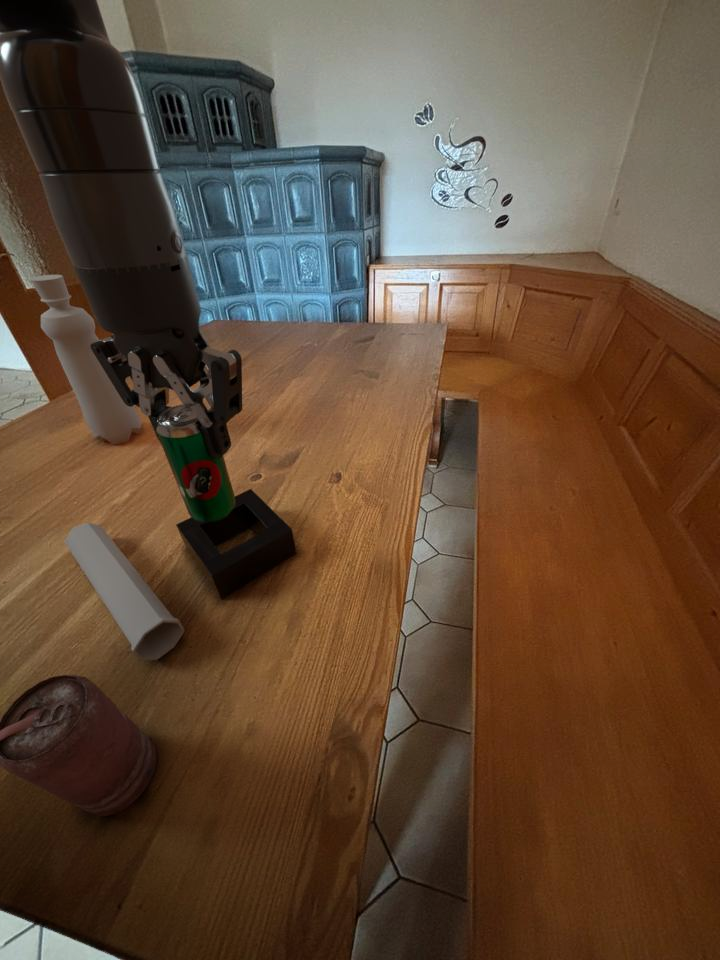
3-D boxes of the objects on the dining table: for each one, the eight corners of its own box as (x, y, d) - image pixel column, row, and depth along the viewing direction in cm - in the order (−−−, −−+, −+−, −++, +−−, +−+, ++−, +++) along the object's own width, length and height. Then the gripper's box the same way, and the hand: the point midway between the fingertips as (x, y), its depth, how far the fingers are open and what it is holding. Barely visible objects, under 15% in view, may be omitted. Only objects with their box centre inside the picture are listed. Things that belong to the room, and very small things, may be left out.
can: (73, 776, 35) (-26, 716, 26) (143, 721, 38) (77, 652, 30) (93, 840, 32) (-12, 797, 23) (169, 774, 35) (103, 714, 26)
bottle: (153, 427, 83) (91, 273, 64) (121, 450, 76) (41, 285, 58) (120, 421, 85) (50, 270, 66) (85, 443, 79) (-3, 282, 60)
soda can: (246, 503, 44) (221, 408, 36) (213, 531, 40) (179, 434, 33) (213, 489, 46) (184, 397, 38) (179, 515, 42) (139, 420, 35)
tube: (49, 537, 53) (122, 655, 39) (83, 509, 55) (164, 613, 41) (80, 554, 57) (156, 666, 44) (111, 527, 59) (192, 627, 45)
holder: (296, 553, 55) (292, 529, 52) (221, 599, 49) (211, 575, 46) (256, 512, 62) (250, 488, 59) (186, 548, 56) (175, 524, 53)
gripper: (8, 257, 27) (111, 456, 37) (175, 268, 23) (236, 486, 33) (98, 242, 32) (165, 419, 43) (245, 249, 28) (278, 442, 39)
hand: (196, 448), depth 38 cm, fingers closed on soda can, 5 cm apart
